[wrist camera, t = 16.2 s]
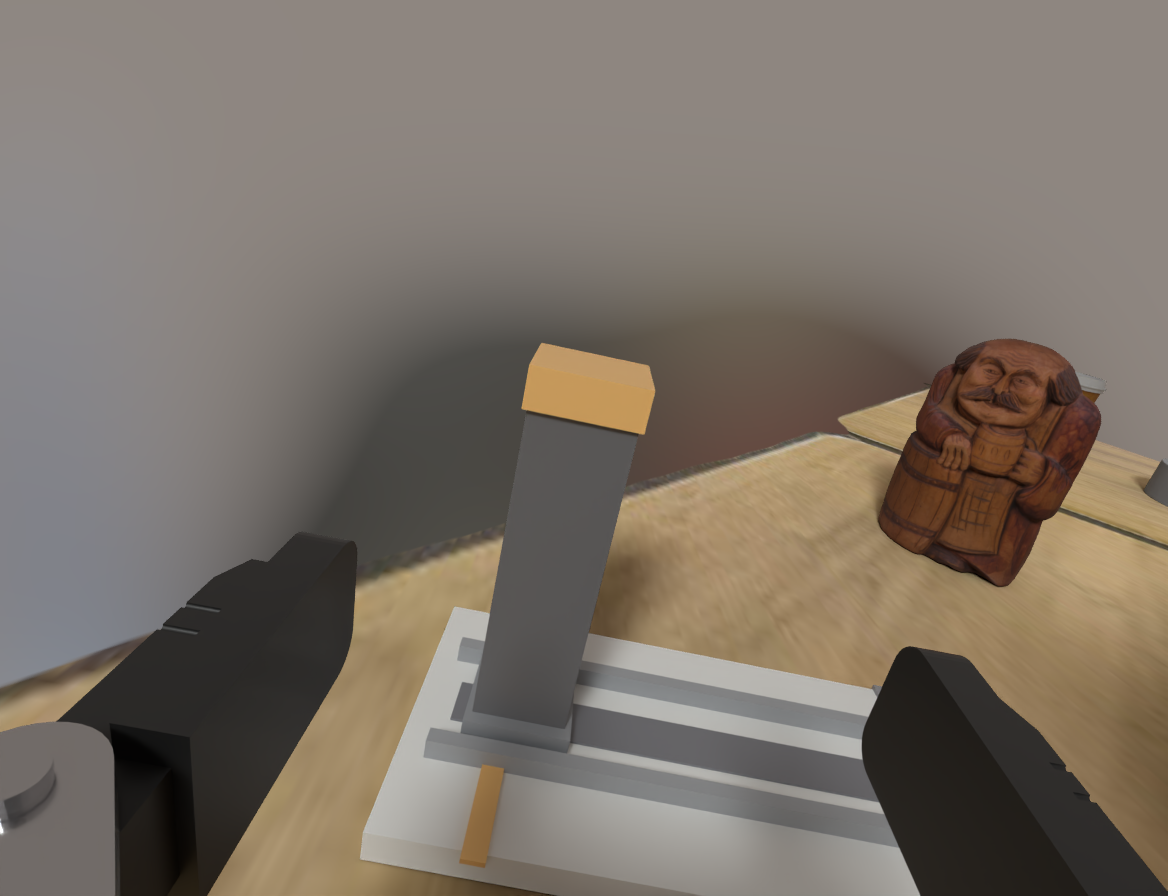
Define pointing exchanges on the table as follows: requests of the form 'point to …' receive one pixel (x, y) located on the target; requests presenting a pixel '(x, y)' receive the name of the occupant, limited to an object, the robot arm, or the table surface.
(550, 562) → the fader
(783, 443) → the table surface
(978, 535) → the wooden figurine
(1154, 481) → the tape roll
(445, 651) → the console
